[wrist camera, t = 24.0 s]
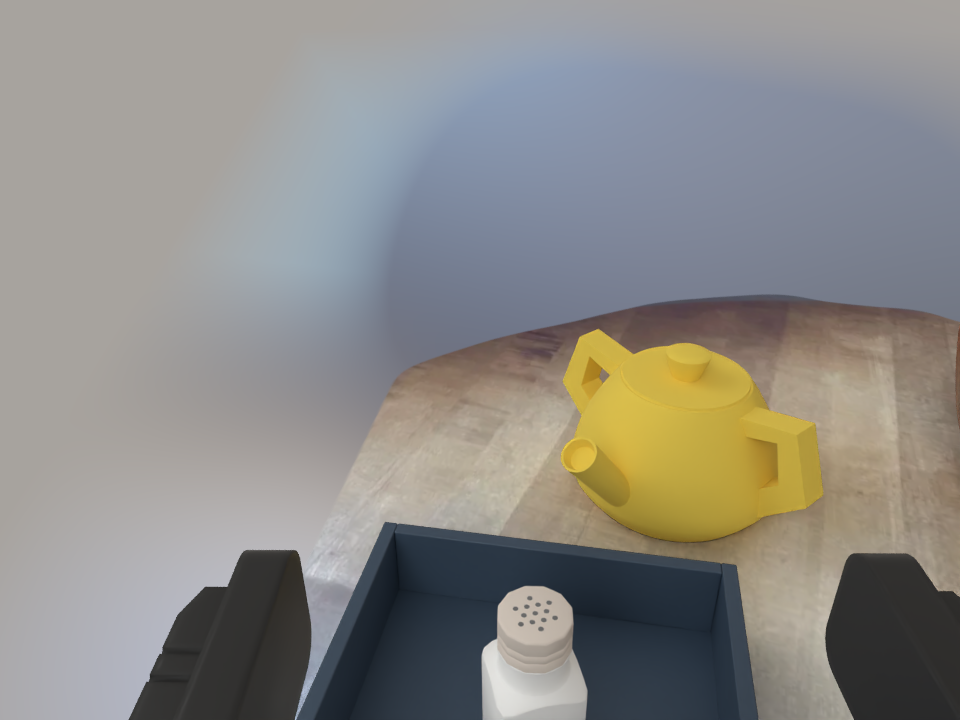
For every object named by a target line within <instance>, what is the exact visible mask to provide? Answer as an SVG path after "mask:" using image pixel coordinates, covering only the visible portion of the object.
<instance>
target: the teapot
mask: <svg viewBox="0 0 960 720" xmlns="http://www.w3.org/2000/svg"><path fill="white" fill-rule="evenodd" d="M602 368H603V369H604V370H605V371H606V372H607V373H608V374H610V376H609V377H608V378H607V380H606V381H605V382H604V383H602V381H601V380H600V378H599V376H600V373H601V369H602ZM563 383H564V385H565V386H566V388H567V390H568V392H569V394H570V395H571V397H572V399H573V401H574V403H575V404H576V406H577V408H578V410H579V412H580V413H581V415H582V416H581V418H580V421H579V424H578V426H577V429H576V433H575V436H574V439H572V440H570V441H569V442H568V443H567V444H566V445H565V446H564V448H563V450H562V453H561V462H562V465H563V466H564V468H565V469H566V470H568V471H569V472H570V473H571V474H573V475H574V476H575V477H576V478H577V481H578V483H579V485H580V486H581V488H582V489H583V491H584V492H585V493H586V494H587V495H588V496H589V498H590V499H591V500H592V501H593V502H594V503H595V504H596V505H597V506H598V507H599V508H600V509H602V510H603V511H604V512H605V513H606V514H608V515H609V516H610V517H611V518H613V519H614V520H616V521H617V522H619V523H620V524H622V525H624V526H626V527H627V528H629V529H631V530H634V531H636V532H638V533H641V534H644V535H647V536H650V537H653V538H658V539H662V540H668V541H674V542H701V541H709V540H713V539H718V538H721V537H724V536H727V535H730V534H733V533H735V532H738V531H740V530H742V529H744V528H746V527H748V526H750V525H752V524H754V523H755V522H756V521H758V520H759V519H761V518H762V517H764V516H769V515H774V514H779V513H785V512H790V511H795V510H800V509H806V508H807V507H808V506H810V505H811V504H812V503H814V502H815V501H816V500H818V499H819V498H820V497H822V496H823V487H822V478H821V470H820V461H819V452H818V443H817V435H816V426H815V423H812V422H809V421H805V420H802V419H798V418H795V417H791V416H788V415H784V414H781V413H777V412H773V411H770V410H769V408H768V406H767V404H766V402H765V400H764V398H763V397H762V395H761V393H760V391H759V389H758V387H757V386H756V384H755V383H754V381H753V380H752V378H751V377H750V375H749V374H748V373H747V372H746V371H745V370H744V369H743V368H742V367H741V366H739V365H738V364H737V363H735V362H734V361H732V360H730V359H728V358H726V357H724V356H722V355H720V354H717V353H714V352H711V351H709V350H707V349H706V348H704V347H702V346H699V345H696V344H690V343H678V344H674V345H671V346H662V347H655V348H650V349H646V350H643V351H641V352H638V353H636V354H632V353H631V352H630V351H628V350H627V349H625V348H624V347H623V346H621V345H620V344H618V343H617V342H616V341H614V340H613V339H612V338H610V337H609V336H607V335H606V334H605V333H603V332H602V331H600V330H599V329H597V330H595V331H593V332H590V333H588V334H585V335H583V336H581V337H580V338H579V340H578V343H577V345H576V348H575V351H574V353H573V356H572V358H571V361H570V364H569V366H568V369H567V371H566V374H565V377H564V379H563Z"/></svg>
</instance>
